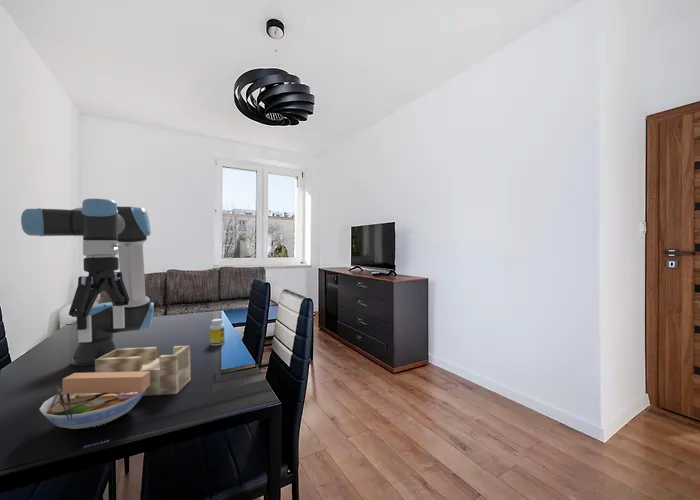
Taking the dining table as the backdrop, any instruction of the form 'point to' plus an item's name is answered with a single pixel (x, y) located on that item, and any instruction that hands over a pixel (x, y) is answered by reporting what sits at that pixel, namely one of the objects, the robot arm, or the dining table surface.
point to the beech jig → (151, 367)
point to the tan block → (106, 382)
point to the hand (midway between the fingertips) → (103, 334)
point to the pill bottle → (217, 332)
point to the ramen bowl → (88, 408)
